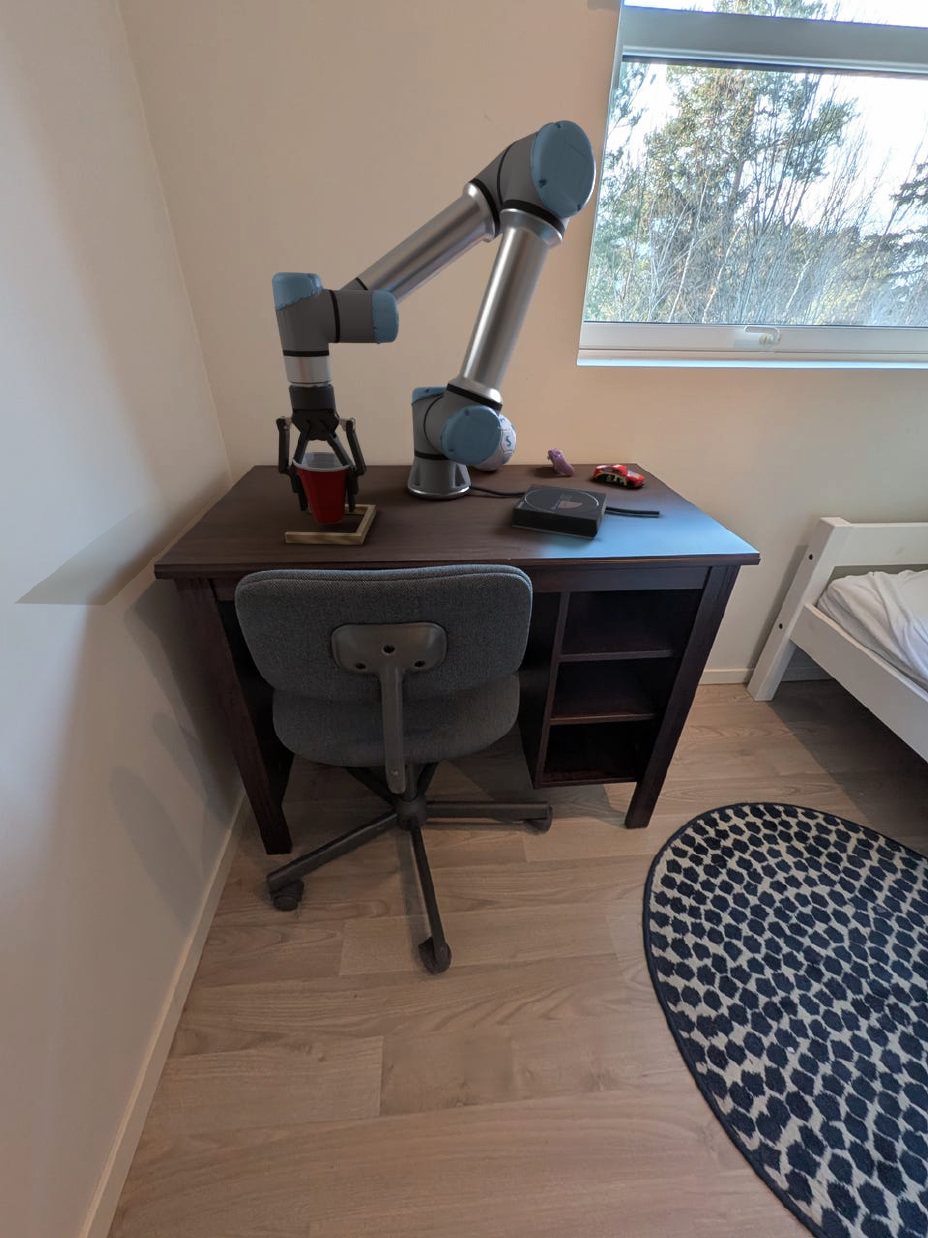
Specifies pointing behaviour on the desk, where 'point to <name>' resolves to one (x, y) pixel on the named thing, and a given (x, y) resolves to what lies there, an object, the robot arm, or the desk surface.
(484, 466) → the puzzle ball
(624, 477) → the race car
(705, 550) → the desk surface
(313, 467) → the plastic cup
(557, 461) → the purple animal figurine
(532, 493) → the portable cd player
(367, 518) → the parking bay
